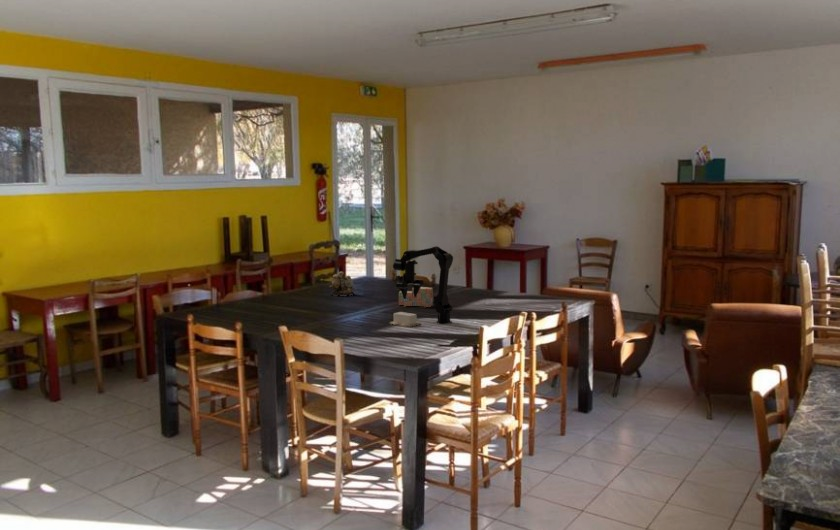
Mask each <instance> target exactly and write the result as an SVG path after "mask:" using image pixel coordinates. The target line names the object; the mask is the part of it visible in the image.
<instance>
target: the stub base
mask: <svg viewBox="0 0 840 530" xmlns="http://www.w3.org/2000/svg"><path fill="white" fill-rule="evenodd" d="M388 323H389V325H392V324H393V325H392V326H397V325H398V327H403V326H404V328H409V327H410V328H413V327H412V326H414V327H417V326H416V325H418V326H420V324H421V325H422V323H421V322H418V321H417V323H415V324H411V325H408V324H402V323H396V322H394V320H393V321H390V322H388Z"/></svg>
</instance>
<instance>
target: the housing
mask: <svg viewBox="0 0 840 530" xmlns="http://www.w3.org/2000/svg"><path fill="white" fill-rule="evenodd" d="M417 319H418V318H417V314H416V313H410V312H405V311H398V312H394V313H393V321H394V322H396V323H402V324H408V325H411V324H415V323H417V322H418V321H417Z"/></svg>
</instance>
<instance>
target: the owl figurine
mask: <svg viewBox="0 0 840 530" xmlns="http://www.w3.org/2000/svg"><path fill="white" fill-rule="evenodd" d="M345 275H346V274H345V272H344V271H338V273H335V274H333V275H332V281H331V285H329V288H330V289H331V290H333V292H331V294H332V295H339V296H340V295H350V294H354V293H355V292H354V290H355V289H356V288H355V287H354V284H355V283H354V279H352V277H351V275H346V276H345Z"/></svg>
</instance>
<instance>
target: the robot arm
mask: <svg viewBox="0 0 840 530" xmlns="http://www.w3.org/2000/svg"><path fill="white" fill-rule="evenodd" d="M428 255H433V256H434V257H435V259H436V260H437V261H438V266H439V269H440V271H439V280H438V291H437V294H436V295H433V306H434V307H435V311H436V313H437V321H436V323H438V322H439V324H444V323H446V324H449V322H450V323H452V320H451V312H452V310H453V307H452V305H451V304H450V303H449V297H448V294H447V292H448V283H449V272H450V268H451V267H452V265H453V261H454V256H453V255H452V253H449V252H448V251H446V250H444V249H442V248H441V247H439V246H438V245H437V246H432V247H427V248H424V249H409V250H404V252H403V255H402V256H401V257H400V259H399V258H395V260H394V262H393V264H392V266H393V267H392V268H393V270H394V271H397V272H398V271H401V272H403V274H402V275H396V276H395V281H396V283H395V288H397V289H398V290H400V291H401V292H402V295H403V297H404V299H406V296H407V291H409V287H408V286H410V285H411V286H412V288H414V297H416V295H417V293H418V291H419V289H420V287H423V285H424V280H423V279H420V278H415V276H417V273H416V272H415V269H416V268H415V267H416V266H415V265H418V263H419V262H417V261H416V259H418V258H420V257H423V256H428Z"/></svg>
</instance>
